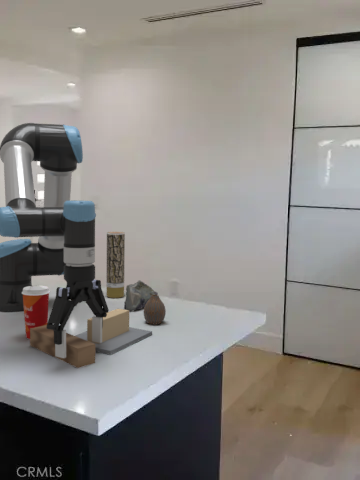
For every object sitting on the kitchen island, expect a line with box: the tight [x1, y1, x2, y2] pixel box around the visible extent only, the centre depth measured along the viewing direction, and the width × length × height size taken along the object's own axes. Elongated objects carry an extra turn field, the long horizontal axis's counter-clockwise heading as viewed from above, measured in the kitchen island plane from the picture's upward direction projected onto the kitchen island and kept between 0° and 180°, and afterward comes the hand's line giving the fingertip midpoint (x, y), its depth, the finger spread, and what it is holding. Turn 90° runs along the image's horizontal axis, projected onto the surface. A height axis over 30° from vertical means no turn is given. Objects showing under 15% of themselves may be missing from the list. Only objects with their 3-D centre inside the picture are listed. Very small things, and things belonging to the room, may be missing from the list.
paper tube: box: [106, 231, 126, 299], centre depth 188 cm, size 7×7×25 cm
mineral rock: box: [123, 280, 159, 312], centre depth 172 cm, size 13×11×10 cm
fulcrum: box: [74, 308, 153, 356], centre depth 136 cm, size 16×20×7 cm
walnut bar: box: [29, 325, 96, 369], centre depth 123 cm, size 22×5×5 cm, turn 46°
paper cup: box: [22, 284, 51, 340], centre depth 137 cm, size 8×8×14 cm
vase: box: [143, 295, 167, 325], centre depth 153 cm, size 7×7×9 cm
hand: (79, 349), depth 120 cm, fingers open, 13 cm apart
